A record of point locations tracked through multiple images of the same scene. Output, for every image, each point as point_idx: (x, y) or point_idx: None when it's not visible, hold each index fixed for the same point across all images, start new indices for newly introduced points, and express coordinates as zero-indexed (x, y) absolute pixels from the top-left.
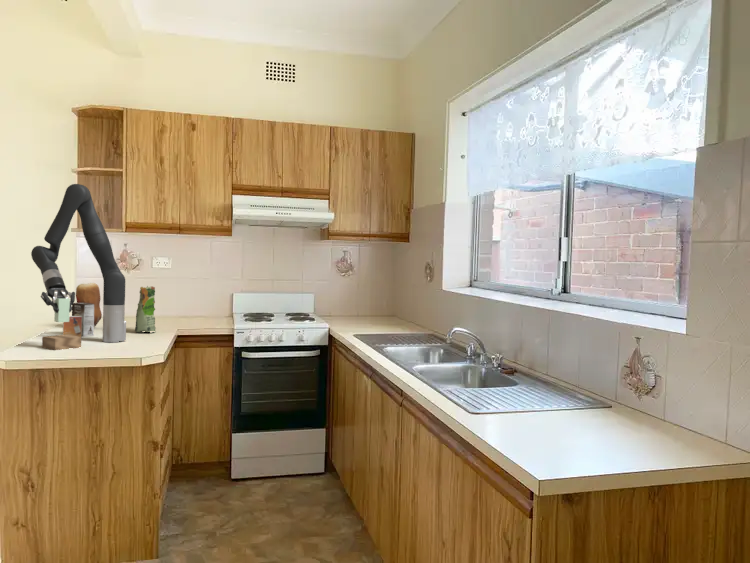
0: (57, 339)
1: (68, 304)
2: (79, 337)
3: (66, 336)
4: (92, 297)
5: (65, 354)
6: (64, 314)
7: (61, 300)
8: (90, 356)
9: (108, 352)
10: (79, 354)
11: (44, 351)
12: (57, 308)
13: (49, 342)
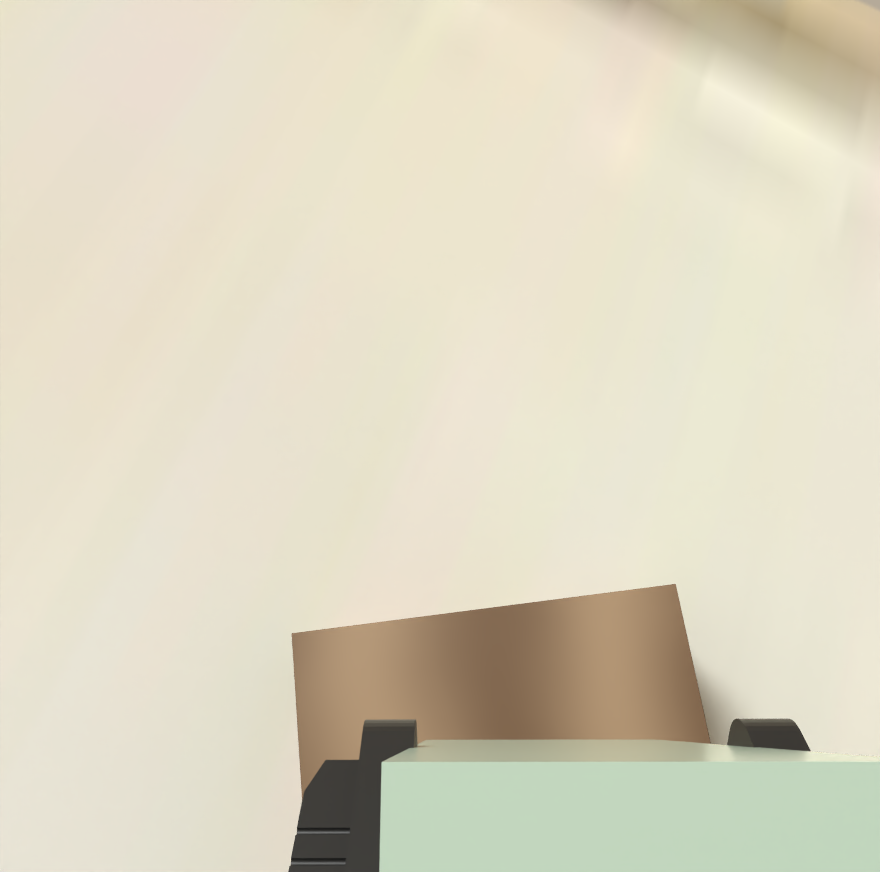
0: (643, 590)
1: (444, 751)
2: (319, 632)
3: None
4: None
5: (634, 264)
6: (546, 743)
7: (772, 755)
8: (488, 57)
9: (260, 168)
10: (525, 198)
11: (767, 579)
12: (795, 748)
13: None
